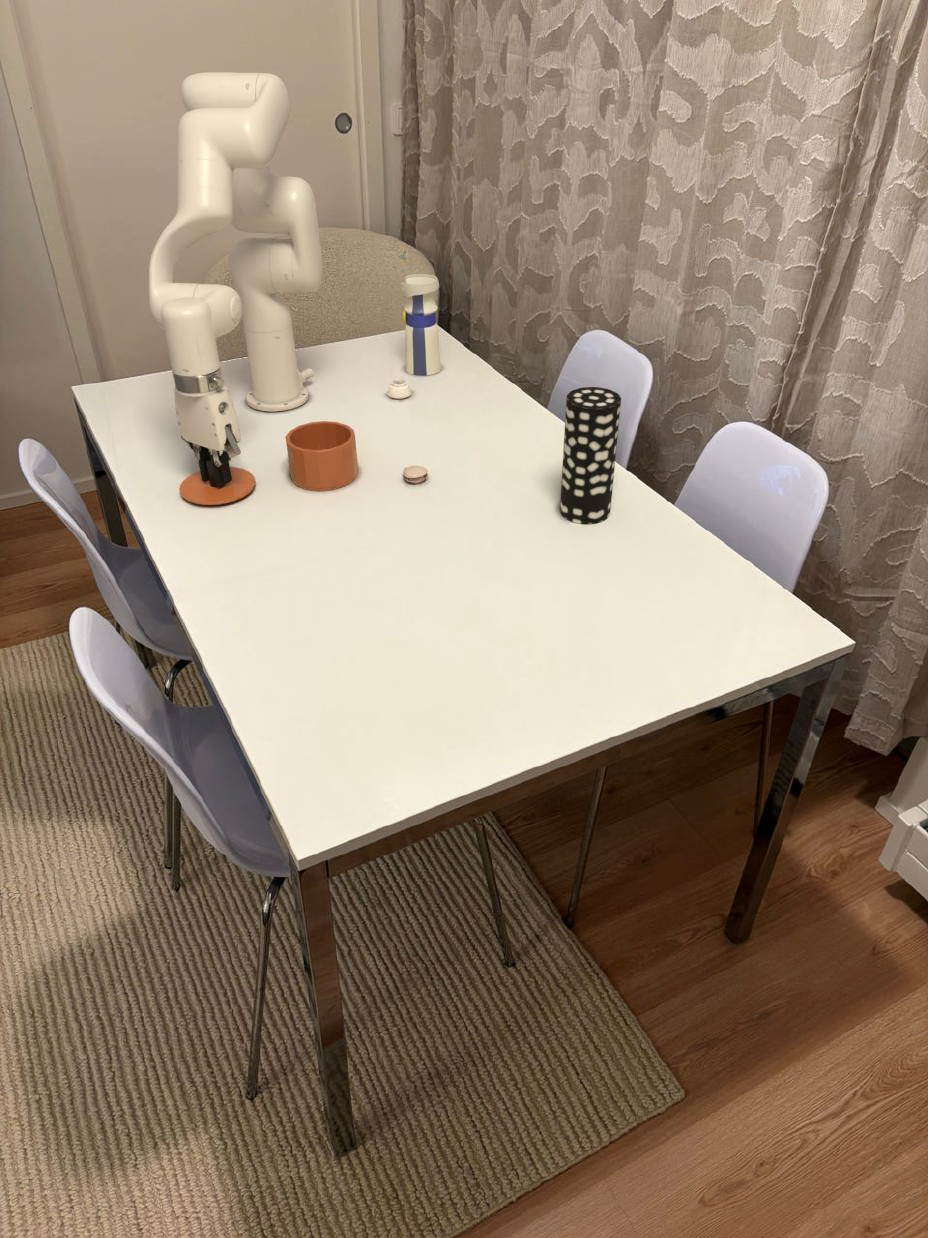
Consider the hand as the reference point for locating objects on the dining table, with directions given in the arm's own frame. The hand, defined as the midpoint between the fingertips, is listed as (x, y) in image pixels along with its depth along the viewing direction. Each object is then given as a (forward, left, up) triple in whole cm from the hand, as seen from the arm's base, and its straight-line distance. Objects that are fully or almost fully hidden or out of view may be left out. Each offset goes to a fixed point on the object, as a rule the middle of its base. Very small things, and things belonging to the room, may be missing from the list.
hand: (217, 480), depth 161 cm
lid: (0, 0, -1) cm, 1 cm away
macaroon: (-21, +26, -2) cm, 34 cm away
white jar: (-49, +3, -2) cm, 49 cm away
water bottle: (-63, -1, -2) cm, 63 cm away
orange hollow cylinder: (-14, +12, -2) cm, 19 cm away
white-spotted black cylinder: (-27, +57, -2) cm, 63 cm away
